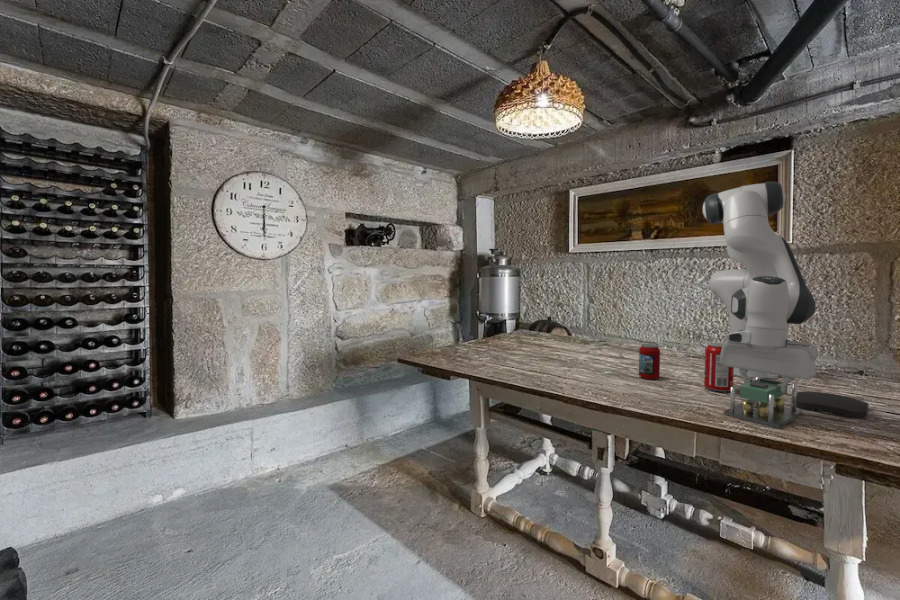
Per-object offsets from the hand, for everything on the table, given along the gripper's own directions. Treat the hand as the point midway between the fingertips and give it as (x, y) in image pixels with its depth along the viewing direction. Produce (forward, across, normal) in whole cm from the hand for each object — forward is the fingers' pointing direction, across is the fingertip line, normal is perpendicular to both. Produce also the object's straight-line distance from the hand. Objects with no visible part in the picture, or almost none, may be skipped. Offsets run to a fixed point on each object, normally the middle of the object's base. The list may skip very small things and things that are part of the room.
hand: (763, 388), depth 107 cm
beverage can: (+7, +38, -11) cm, 40 cm away
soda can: (+7, +17, -15) cm, 24 cm away
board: (+2, 0, 0) cm, 2 cm away
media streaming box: (+8, -9, -21) cm, 24 cm away
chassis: (+7, 0, 0) cm, 7 cm away
